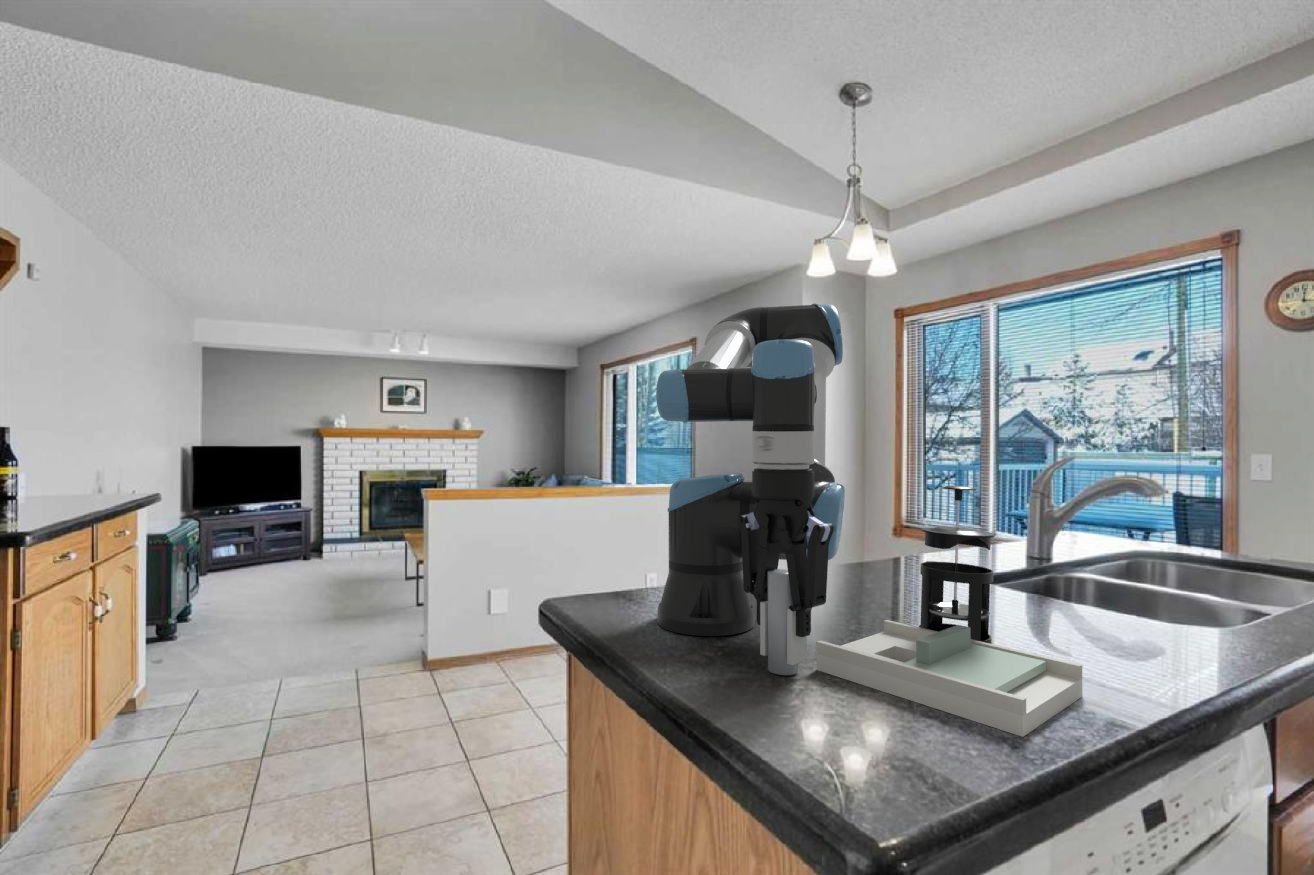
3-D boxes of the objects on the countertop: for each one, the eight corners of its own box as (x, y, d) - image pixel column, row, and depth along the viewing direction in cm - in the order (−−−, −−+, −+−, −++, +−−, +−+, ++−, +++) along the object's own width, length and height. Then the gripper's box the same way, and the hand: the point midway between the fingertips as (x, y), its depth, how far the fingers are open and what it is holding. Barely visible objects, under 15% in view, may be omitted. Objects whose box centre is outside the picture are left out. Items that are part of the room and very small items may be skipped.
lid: (901, 672, 73) (901, 641, 73) (959, 648, 82) (959, 620, 82) (993, 699, 66) (993, 664, 66) (1046, 670, 74) (1046, 639, 74)
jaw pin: (762, 669, 80) (761, 571, 80) (781, 662, 83) (780, 568, 83) (784, 677, 78) (784, 576, 78) (804, 670, 80) (803, 572, 80)
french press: (1012, 669, 83) (1017, 489, 84) (943, 670, 82) (949, 487, 82) (957, 642, 95) (962, 484, 95) (897, 642, 94) (902, 482, 94)
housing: (816, 669, 81) (816, 641, 81) (886, 644, 91) (886, 619, 91) (1023, 736, 62) (1022, 700, 62) (1082, 696, 73) (1082, 664, 73)
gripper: (713, 465, 84) (713, 646, 84) (820, 470, 71) (820, 684, 71) (753, 464, 89) (752, 635, 89) (859, 468, 76) (859, 668, 76)
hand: (782, 656), depth 80 cm, fingers closed on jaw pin, 3 cm apart
